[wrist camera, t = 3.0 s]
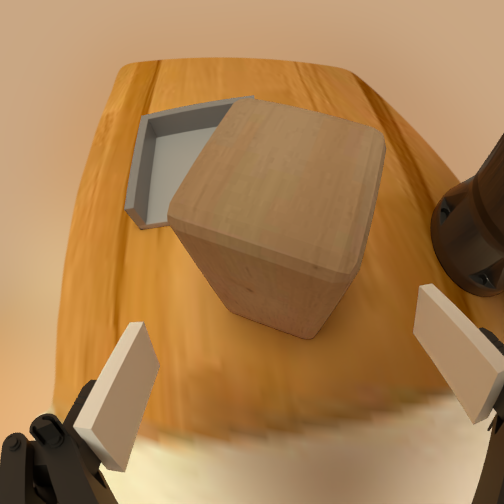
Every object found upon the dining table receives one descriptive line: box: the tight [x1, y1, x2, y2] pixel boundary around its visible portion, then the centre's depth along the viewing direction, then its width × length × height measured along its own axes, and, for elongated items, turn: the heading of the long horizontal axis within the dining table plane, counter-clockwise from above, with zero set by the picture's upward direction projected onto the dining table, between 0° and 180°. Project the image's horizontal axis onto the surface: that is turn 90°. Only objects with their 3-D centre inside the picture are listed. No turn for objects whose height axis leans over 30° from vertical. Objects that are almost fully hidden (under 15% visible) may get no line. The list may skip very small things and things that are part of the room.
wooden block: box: [167, 98, 386, 339], centre depth 24 cm, size 10×10×20 cm
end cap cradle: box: [124, 96, 254, 230], centre depth 39 cm, size 16×16×5 cm
